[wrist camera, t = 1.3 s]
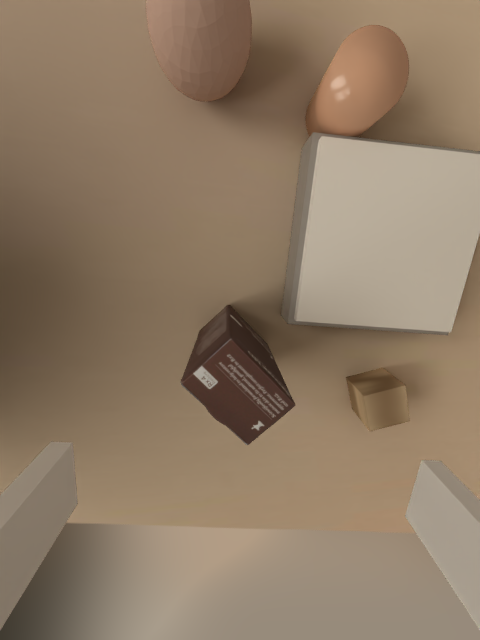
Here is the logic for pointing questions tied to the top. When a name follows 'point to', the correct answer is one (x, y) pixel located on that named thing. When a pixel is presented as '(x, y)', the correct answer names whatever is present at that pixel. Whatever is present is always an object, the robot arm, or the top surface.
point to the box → (236, 377)
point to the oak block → (378, 399)
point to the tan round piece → (359, 83)
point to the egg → (201, 43)
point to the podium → (381, 234)
